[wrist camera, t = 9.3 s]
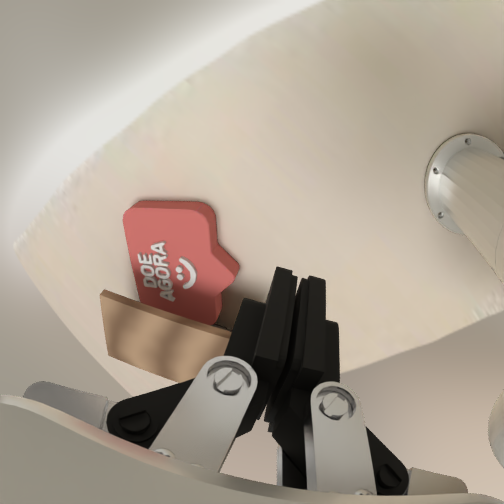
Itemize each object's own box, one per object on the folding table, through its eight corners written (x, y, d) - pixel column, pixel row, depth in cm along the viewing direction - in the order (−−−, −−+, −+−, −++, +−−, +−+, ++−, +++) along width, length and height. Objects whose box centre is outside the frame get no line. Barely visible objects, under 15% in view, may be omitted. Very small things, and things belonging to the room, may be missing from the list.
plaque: (236, 333, 44) (142, 318, 47) (242, 316, 48) (152, 303, 50) (230, 213, 36) (117, 209, 38) (238, 202, 39) (132, 198, 42)
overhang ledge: (267, 294, 44) (254, 346, 35) (250, 350, 50) (236, 400, 42) (136, 255, 45) (99, 294, 37) (136, 314, 52) (108, 355, 43)
